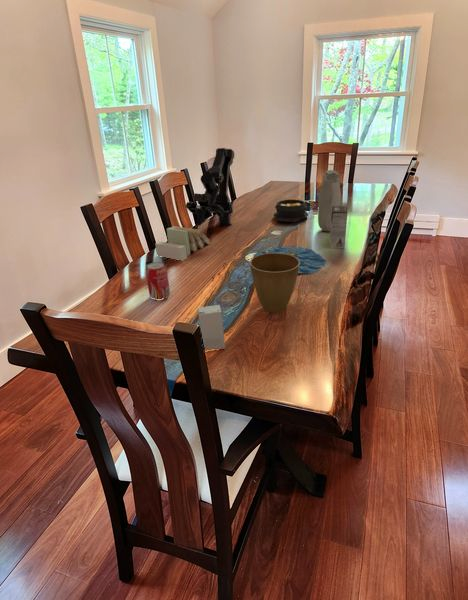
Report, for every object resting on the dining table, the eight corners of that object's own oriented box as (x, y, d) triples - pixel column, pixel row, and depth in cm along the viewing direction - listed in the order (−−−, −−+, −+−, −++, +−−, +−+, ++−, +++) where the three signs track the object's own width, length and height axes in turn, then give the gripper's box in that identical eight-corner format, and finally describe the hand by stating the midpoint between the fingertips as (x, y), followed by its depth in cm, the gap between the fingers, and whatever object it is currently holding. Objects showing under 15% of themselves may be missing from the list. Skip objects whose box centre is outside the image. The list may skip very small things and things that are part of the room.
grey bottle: (340, 233, 189) (345, 172, 176) (319, 234, 189) (322, 173, 176) (336, 226, 198) (340, 168, 185) (315, 227, 198) (318, 169, 185)
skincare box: (223, 341, 112) (220, 303, 106) (225, 350, 108) (222, 311, 102) (201, 344, 111) (197, 306, 105) (203, 353, 107) (199, 314, 101)
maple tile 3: (180, 246, 182) (172, 226, 175) (197, 249, 178) (190, 228, 170) (177, 248, 181) (169, 228, 174) (195, 252, 176) (188, 231, 169)
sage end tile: (172, 251, 179) (169, 227, 174) (190, 254, 174) (187, 230, 169) (169, 252, 177) (166, 228, 172) (187, 256, 172) (184, 231, 167)
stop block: (161, 254, 176) (159, 241, 173) (186, 259, 169) (185, 245, 166) (157, 256, 174) (155, 243, 171) (182, 261, 167) (180, 248, 164)
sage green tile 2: (186, 241, 186) (176, 226, 177) (204, 244, 181) (194, 229, 172) (184, 245, 185) (174, 229, 177) (202, 248, 180) (192, 232, 172)
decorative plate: (330, 254, 171) (331, 242, 168) (320, 282, 145) (321, 269, 143) (263, 246, 179) (263, 235, 177) (242, 272, 154) (242, 259, 152)
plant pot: (245, 316, 124) (243, 268, 116) (259, 295, 136) (258, 250, 129) (292, 322, 119) (293, 273, 111) (302, 300, 131) (304, 254, 124)
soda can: (151, 293, 141) (145, 262, 136) (171, 292, 142) (166, 260, 136) (149, 302, 135) (143, 270, 130) (169, 301, 135) (165, 268, 130)
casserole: (303, 226, 202) (304, 209, 198) (268, 224, 208) (267, 208, 204) (312, 212, 223) (312, 197, 219) (279, 211, 229) (279, 196, 225)
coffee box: (329, 241, 180) (331, 205, 172) (344, 241, 179) (347, 205, 171) (329, 248, 172) (332, 211, 164) (345, 248, 171) (348, 211, 163)
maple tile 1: (193, 237, 190) (181, 227, 180) (210, 240, 185) (198, 229, 175) (191, 241, 189) (179, 231, 180) (209, 244, 184) (197, 233, 175)
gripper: (185, 184, 184) (173, 214, 180) (219, 187, 174) (206, 218, 171) (197, 197, 193) (185, 226, 190) (229, 200, 184) (218, 230, 181)
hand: (198, 225), depth 183 cm, fingers closed
